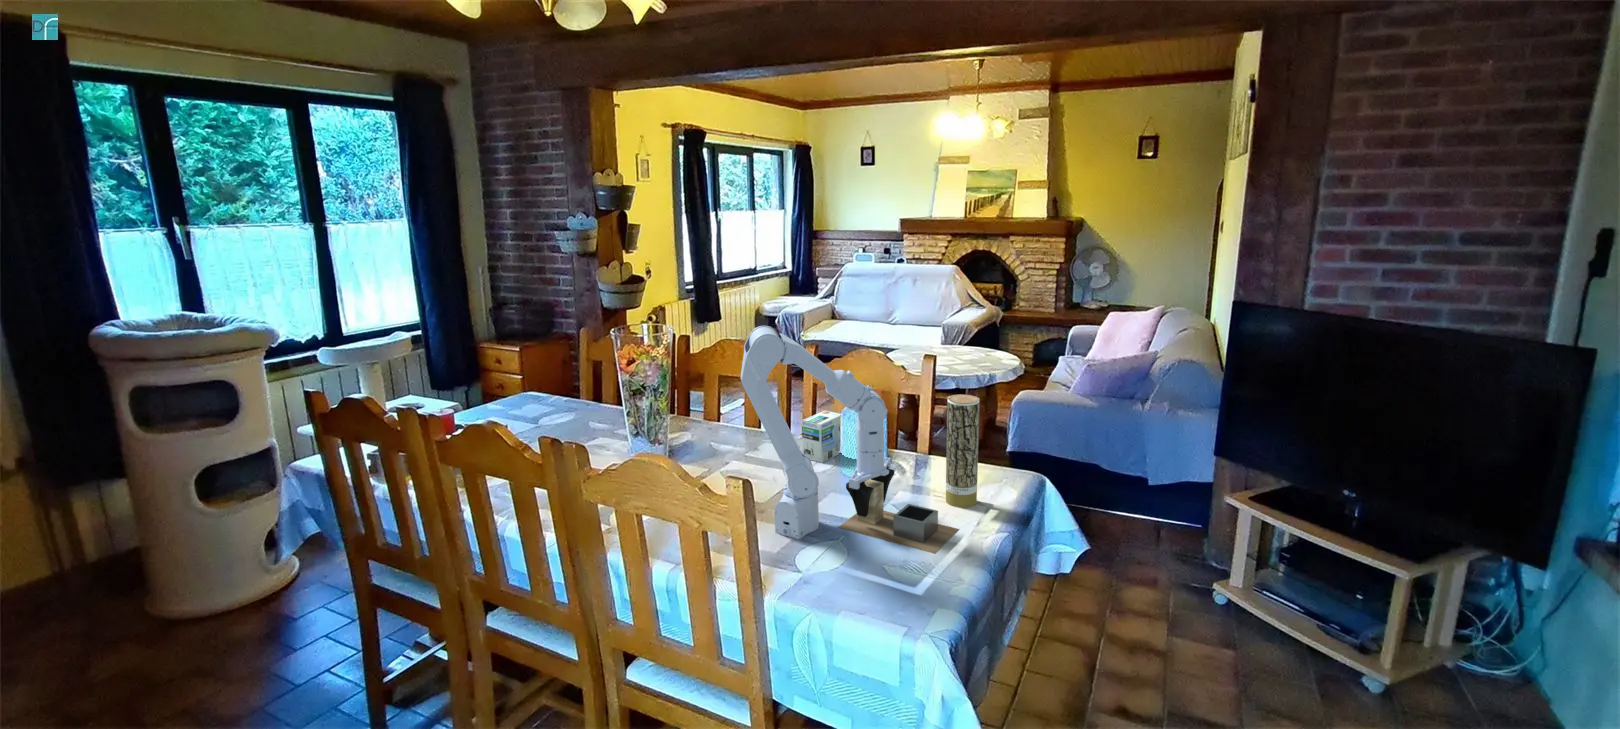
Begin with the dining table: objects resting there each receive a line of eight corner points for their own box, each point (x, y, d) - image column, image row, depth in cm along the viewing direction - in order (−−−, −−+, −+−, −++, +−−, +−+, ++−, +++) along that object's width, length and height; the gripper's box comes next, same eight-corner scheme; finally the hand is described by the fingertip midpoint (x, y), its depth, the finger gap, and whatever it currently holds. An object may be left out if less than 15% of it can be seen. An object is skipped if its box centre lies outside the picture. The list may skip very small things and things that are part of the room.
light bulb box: (822, 463, 194) (821, 424, 191) (801, 458, 198) (800, 420, 195) (845, 451, 202) (844, 413, 199) (825, 446, 206) (824, 409, 203)
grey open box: (923, 543, 147) (923, 523, 146) (893, 535, 151) (893, 515, 150) (937, 530, 153) (938, 510, 152) (908, 522, 156) (908, 503, 155)
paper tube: (976, 513, 162) (979, 403, 156) (945, 511, 164) (947, 402, 158) (976, 500, 169) (979, 394, 163) (945, 498, 170) (947, 394, 164)
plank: (935, 559, 143) (935, 553, 143) (837, 532, 155) (837, 527, 155) (959, 534, 153) (959, 529, 153) (866, 511, 165) (865, 506, 165)
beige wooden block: (874, 524, 156) (874, 489, 154) (858, 520, 158) (857, 485, 156) (883, 517, 159) (883, 482, 157) (867, 513, 161) (866, 478, 159)
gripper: (870, 462, 147) (870, 526, 150) (903, 440, 158) (903, 500, 162) (839, 456, 151) (841, 518, 154) (874, 435, 162) (874, 493, 166)
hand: (871, 508), depth 158 cm, fingers open, 7 cm apart
